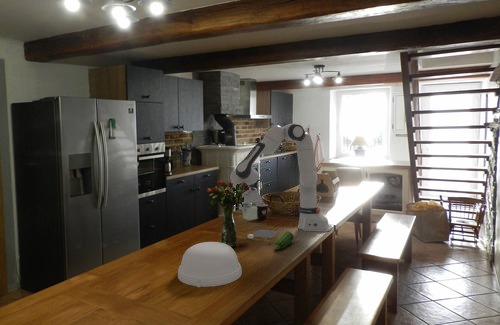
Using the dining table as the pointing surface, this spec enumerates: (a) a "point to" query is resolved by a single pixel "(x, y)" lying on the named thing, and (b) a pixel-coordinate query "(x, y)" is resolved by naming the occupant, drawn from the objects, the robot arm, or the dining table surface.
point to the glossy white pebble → (250, 236)
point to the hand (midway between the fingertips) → (250, 210)
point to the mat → (265, 233)
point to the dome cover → (209, 265)
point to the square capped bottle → (250, 212)
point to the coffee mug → (262, 211)
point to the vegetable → (284, 240)
